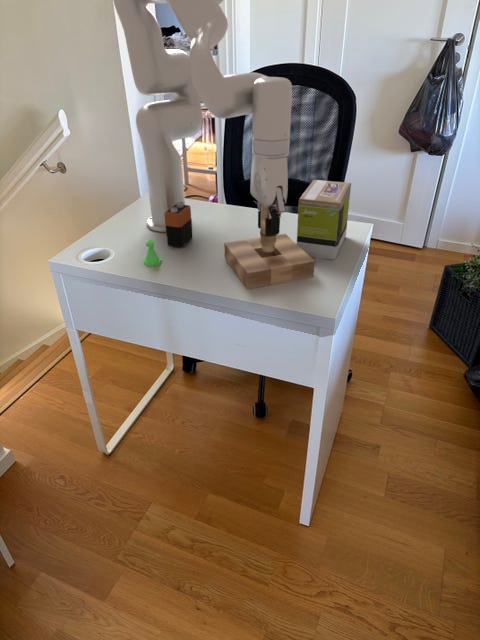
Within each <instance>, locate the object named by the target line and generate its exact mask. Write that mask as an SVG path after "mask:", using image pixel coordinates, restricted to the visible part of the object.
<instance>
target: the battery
mask: <svg viewBox="0 0 480 640" xmlns="http://www.w3.org/2000/svg"><path fill="white" fill-rule="evenodd" d="M191 209H192V208H191V205H189V204H188V205H187V204H185V205H184V202H177V203H176V204H175V205H174V206H173V207H171V208H170V209H169V210H167V211H166V212H165V213H164V215H165V225H166V232H165V233H166V241H167V243H166V244H167V246H169V247H173V248H175V247H176V248H181V249H182V248H183V247H185V246H186V244H187V243H189V242H190V241H191V240H192V239H193V225H192V223H193V221H192V222H191V219H192V211H191Z"/></svg>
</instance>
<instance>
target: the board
mask: <svg viewBox="0 0 480 640" xmlns="http://www.w3.org/2000/svg"><path fill="white" fill-rule="evenodd" d="M261 247H262V243H261V242H260V237H254V238H249V239H243V240H242V239H241V240H236V241H235V240H234V241H229V242H224V243H223V248H224V250H223V251H224V259H225V261H226V262H227V263H228V265H229V266H230V267H231V269H232V270H233V272H234V273H235V274H236V276H237V277H238V279H239V280H240V282H241V283H242V284H243V285H244V286H245V288H246V289H247V290H250V289H257V288H261V287H265V286H272V285H277V284H282V283H288V282H294V281H298V280H304V279H309V278H313V277H314V275H315V265H316V264H315V263H316V261H315V259H313V257H310V256H309V255H308V254H307V253H306V252H305V251H304V250H302V249H301V248H300V247H299V246H298V245H297V242H295V241H294V240H293V239H292V238H291V237H290V236H288V234H286V233H281V234H280V233H279V234H277V235H276V243H275V249H274V251H273V252H263V251H262V250H261Z"/></svg>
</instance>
